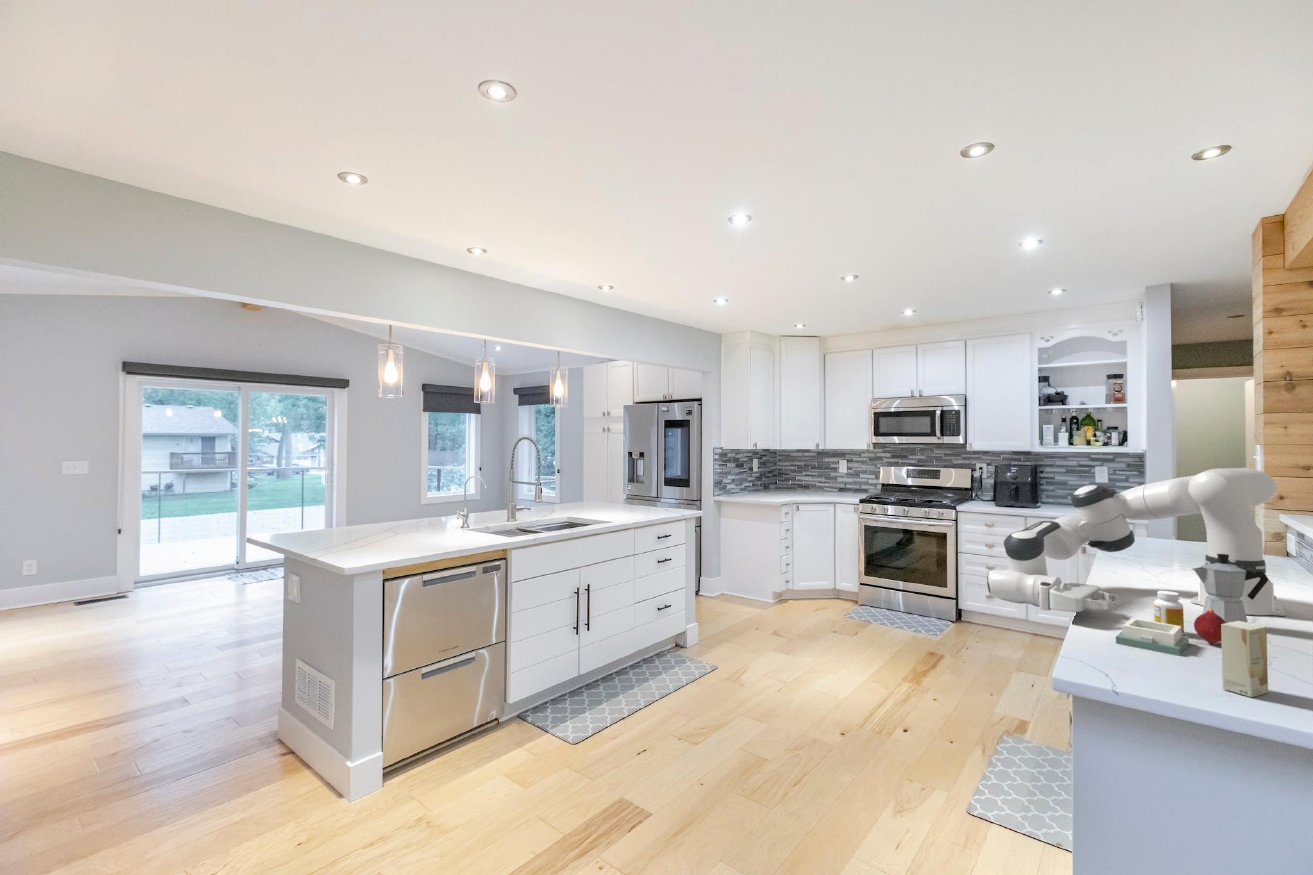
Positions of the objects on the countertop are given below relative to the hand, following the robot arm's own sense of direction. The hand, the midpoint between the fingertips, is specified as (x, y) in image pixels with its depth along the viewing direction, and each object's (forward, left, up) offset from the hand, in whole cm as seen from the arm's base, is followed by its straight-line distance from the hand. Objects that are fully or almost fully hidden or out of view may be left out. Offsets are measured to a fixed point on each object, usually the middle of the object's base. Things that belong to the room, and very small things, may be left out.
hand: (1113, 602), depth 152 cm
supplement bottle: (0, +11, -5) cm, 12 cm away
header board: (+13, +10, -5) cm, 17 cm away
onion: (+4, +19, -5) cm, 20 cm away
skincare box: (+34, +27, -5) cm, 43 cm away
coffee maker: (-18, +20, -5) cm, 28 cm away
